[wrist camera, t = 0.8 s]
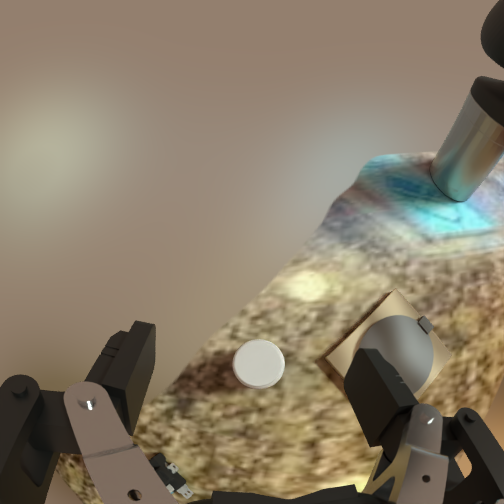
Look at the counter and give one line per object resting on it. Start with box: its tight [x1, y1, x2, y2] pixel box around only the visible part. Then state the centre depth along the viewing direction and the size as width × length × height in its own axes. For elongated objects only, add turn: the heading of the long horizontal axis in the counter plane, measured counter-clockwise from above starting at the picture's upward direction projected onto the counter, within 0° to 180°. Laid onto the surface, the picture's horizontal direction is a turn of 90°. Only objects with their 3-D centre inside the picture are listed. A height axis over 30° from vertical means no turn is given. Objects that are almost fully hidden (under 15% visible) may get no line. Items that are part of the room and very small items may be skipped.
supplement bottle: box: [232, 339, 285, 389], centre depth 26 cm, size 5×5×8 cm
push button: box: [149, 453, 193, 499], centre depth 20 cm, size 7×5×10 cm
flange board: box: [325, 289, 452, 399], centre depth 28 cm, size 12×12×2 cm
